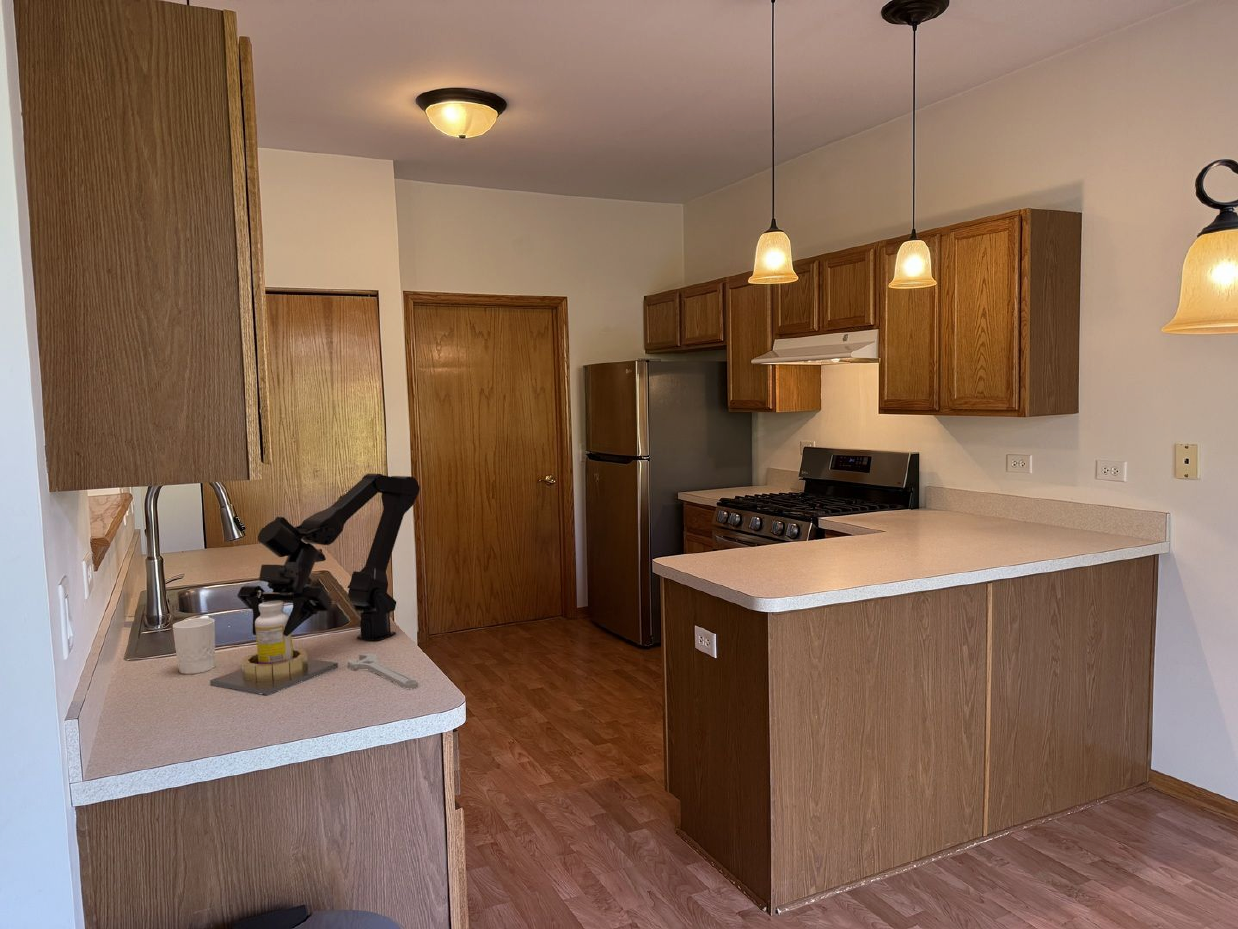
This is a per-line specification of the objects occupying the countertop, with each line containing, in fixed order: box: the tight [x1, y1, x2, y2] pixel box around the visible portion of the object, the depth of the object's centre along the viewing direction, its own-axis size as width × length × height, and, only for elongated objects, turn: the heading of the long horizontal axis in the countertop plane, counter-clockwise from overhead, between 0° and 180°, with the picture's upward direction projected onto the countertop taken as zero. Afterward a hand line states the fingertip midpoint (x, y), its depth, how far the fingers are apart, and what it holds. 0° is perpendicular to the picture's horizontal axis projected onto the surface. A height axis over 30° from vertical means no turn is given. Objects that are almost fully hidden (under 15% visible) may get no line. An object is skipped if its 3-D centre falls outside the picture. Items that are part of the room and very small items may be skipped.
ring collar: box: [209, 647, 339, 696], centre depth 173 cm, size 18×16×4 cm
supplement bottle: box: [255, 600, 294, 664], centre depth 173 cm, size 7×7×13 cm
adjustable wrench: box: [347, 653, 419, 690], centre depth 172 cm, size 25×6×2 cm, turn 38°
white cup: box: [172, 617, 216, 675], centre depth 180 cm, size 8×8×10 cm
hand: (269, 634), depth 172 cm, fingers closed on supplement bottle, 7 cm apart
